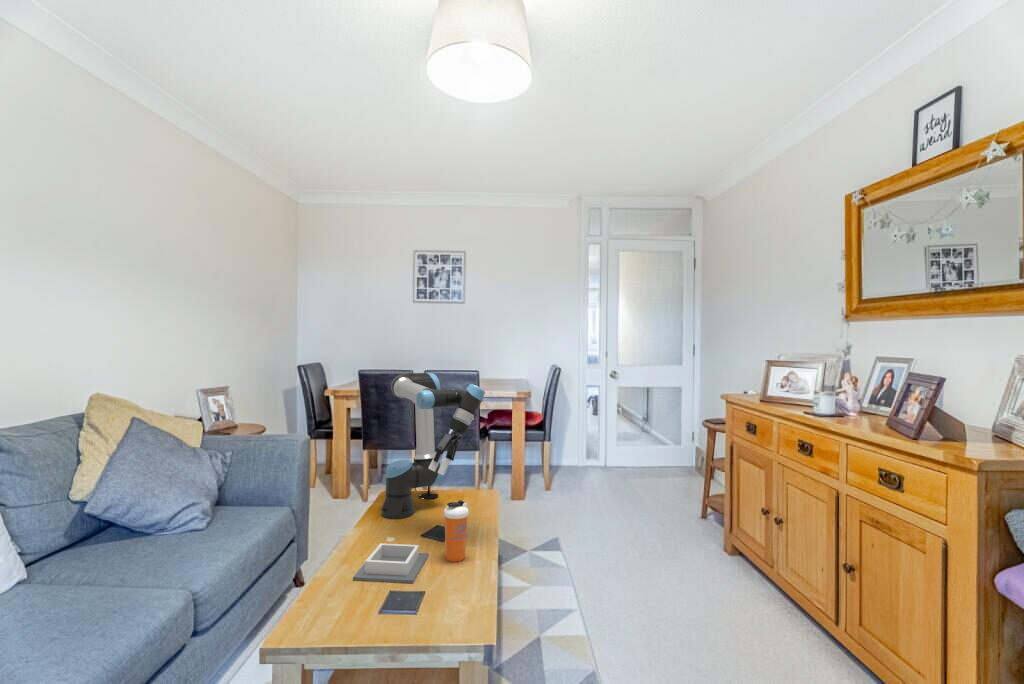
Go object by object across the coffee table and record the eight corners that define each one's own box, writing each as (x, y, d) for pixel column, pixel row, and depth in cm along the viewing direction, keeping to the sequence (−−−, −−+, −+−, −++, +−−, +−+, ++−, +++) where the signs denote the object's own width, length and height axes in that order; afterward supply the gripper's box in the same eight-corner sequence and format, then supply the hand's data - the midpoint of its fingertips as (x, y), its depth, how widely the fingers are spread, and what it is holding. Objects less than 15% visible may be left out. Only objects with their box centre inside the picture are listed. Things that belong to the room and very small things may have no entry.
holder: (375, 553, 171) (375, 539, 171) (428, 556, 169) (428, 542, 169) (353, 580, 151) (353, 564, 151) (413, 583, 149) (413, 567, 149)
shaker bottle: (438, 557, 168) (439, 502, 169) (456, 550, 175) (457, 497, 175) (453, 565, 162) (455, 508, 163) (472, 557, 169) (473, 502, 169)
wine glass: (416, 494, 240) (417, 456, 240) (436, 492, 244) (436, 454, 245) (420, 501, 230) (421, 460, 231) (441, 498, 235) (441, 459, 235)
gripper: (463, 418, 171) (436, 472, 164) (474, 431, 194) (451, 479, 187) (445, 410, 172) (418, 463, 166) (459, 424, 195) (435, 471, 189)
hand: (436, 472), depth 177 cm, fingers open, 13 cm apart
